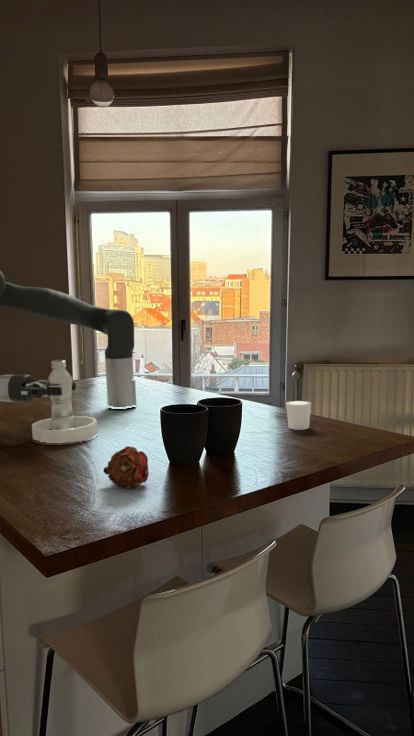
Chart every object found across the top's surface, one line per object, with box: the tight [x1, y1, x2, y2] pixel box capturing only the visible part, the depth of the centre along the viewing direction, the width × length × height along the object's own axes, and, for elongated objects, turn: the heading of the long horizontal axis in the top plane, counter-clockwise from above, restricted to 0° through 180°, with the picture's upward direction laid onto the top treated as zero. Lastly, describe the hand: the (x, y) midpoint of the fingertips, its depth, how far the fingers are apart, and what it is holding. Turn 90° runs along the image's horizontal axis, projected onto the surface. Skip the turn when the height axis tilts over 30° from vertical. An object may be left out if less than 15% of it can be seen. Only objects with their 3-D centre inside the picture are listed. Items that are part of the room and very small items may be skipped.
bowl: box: [31, 415, 99, 443], centre depth 152 cm, size 17×17×4 cm
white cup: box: [285, 400, 312, 431], centre depth 155 cm, size 7×7×7 cm
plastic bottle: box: [47, 359, 76, 430], centre depth 151 cm, size 6×7×20 cm
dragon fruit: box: [103, 445, 150, 490], centre depth 112 cm, size 8×8×12 cm
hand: (68, 388), depth 150 cm, fingers open, 8 cm apart
